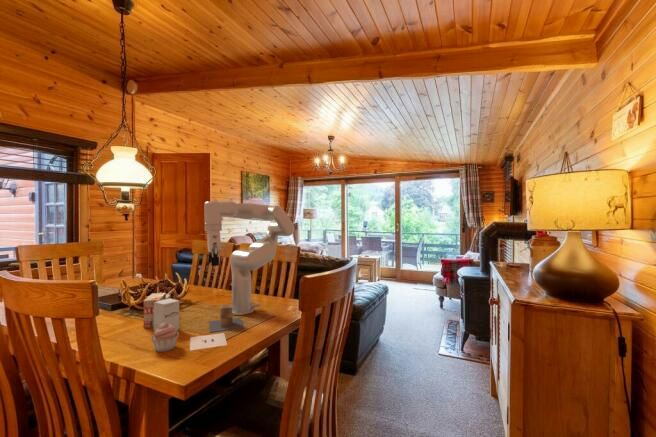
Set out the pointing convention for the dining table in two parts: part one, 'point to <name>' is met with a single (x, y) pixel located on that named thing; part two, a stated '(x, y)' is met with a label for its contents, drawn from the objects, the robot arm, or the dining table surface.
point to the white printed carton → (152, 307)
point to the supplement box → (166, 313)
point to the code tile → (207, 341)
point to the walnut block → (226, 315)
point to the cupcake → (165, 337)
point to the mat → (216, 326)
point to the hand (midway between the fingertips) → (213, 264)
